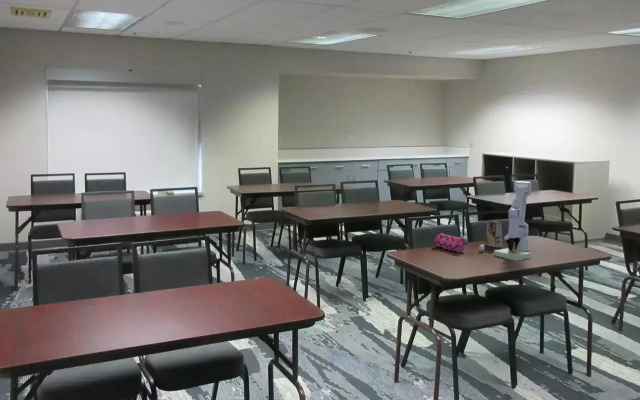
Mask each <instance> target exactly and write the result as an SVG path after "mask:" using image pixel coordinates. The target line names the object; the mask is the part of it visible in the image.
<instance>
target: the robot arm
mask: <svg viewBox="0 0 640 400" xmlns="http://www.w3.org/2000/svg"><path fill="white" fill-rule="evenodd" d="M513 191H514V194H515V198H514V199H513V200H512V203H511V207H510V208H509V209H508V232H507V234H506V235H505V236H503V237H504V238H503V240H504V241H505V242H506V245H507V248H508V249H509V250H510V251H512V250H513V244H514V242H515V250H519V251H524V252H528V251H530V250H529V239H528V236H529V224H528V223H526V221H525V217H526V211H527V210H526V207H527V200H528V196H530V195H531V194H532V182H531V181H522V180H521V181H518V180H515V181H514V183H513Z"/></svg>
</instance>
